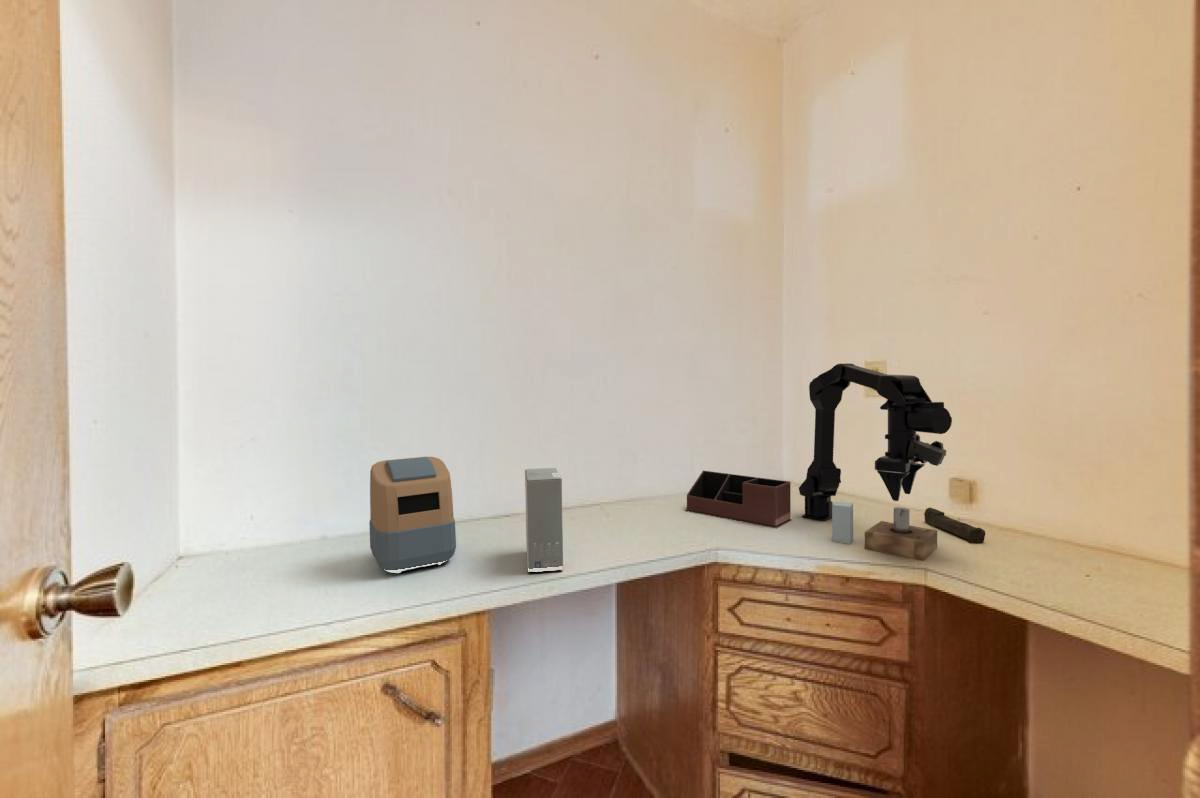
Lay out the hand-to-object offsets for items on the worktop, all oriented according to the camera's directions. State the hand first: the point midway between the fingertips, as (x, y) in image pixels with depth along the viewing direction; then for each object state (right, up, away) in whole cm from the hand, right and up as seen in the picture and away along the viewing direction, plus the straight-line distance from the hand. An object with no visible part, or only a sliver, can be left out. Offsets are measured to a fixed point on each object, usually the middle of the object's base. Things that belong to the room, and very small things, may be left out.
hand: (901, 497), depth 122 cm
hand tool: (+19, -12, +12) cm, 25 cm away
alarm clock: (-112, -14, -2) cm, 113 cm away
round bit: (0, -12, +1) cm, 12 cm away
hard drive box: (-83, -14, -3) cm, 84 cm away
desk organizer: (-30, -12, +32) cm, 45 cm away
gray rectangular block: (-10, -12, +7) cm, 17 cm away
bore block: (0, -12, +1) cm, 12 cm away
